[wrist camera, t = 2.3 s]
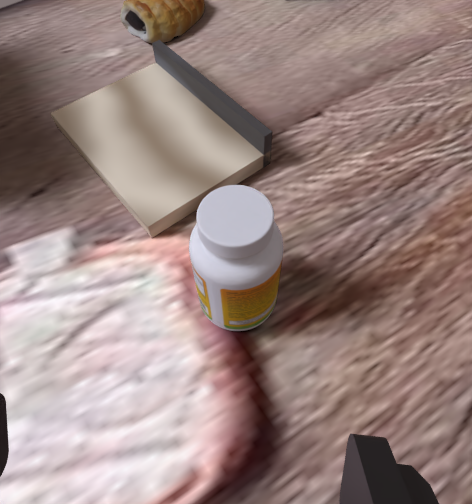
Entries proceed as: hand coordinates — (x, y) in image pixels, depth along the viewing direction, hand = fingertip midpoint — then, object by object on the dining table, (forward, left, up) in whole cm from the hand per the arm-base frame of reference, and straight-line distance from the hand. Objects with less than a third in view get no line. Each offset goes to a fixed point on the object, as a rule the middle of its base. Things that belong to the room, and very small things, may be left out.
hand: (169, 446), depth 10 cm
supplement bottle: (-8, -8, -17) cm, 20 cm away
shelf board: (-12, -24, -17) cm, 32 cm away
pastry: (-23, -40, -17) cm, 49 cm away
